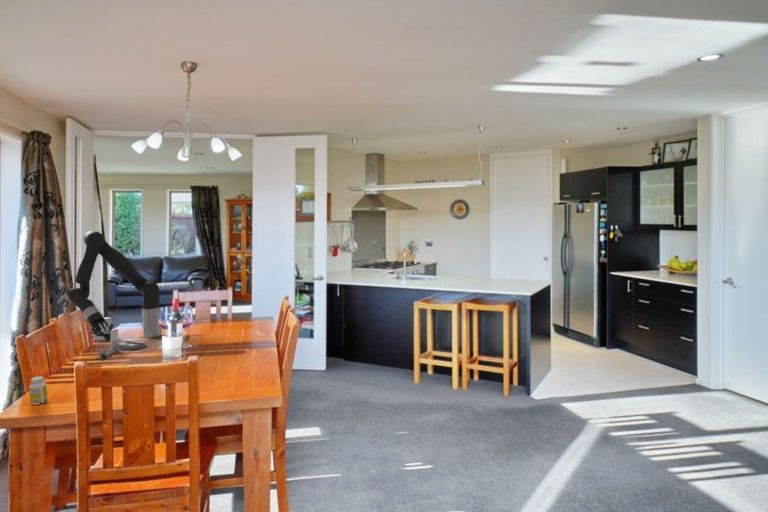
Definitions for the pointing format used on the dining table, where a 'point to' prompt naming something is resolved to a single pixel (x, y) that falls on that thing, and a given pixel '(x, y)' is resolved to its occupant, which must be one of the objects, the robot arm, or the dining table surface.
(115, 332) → the cable arm
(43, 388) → the supplement bottle
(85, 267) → the robot arm
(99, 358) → the hinge foot
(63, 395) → the dining table surface
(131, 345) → the server lid
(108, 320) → the supplement box
